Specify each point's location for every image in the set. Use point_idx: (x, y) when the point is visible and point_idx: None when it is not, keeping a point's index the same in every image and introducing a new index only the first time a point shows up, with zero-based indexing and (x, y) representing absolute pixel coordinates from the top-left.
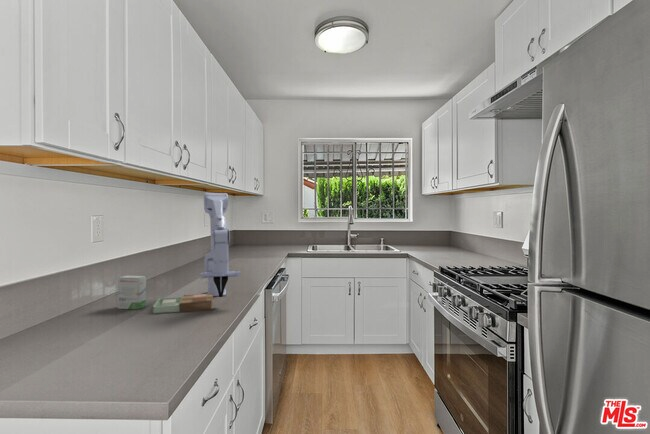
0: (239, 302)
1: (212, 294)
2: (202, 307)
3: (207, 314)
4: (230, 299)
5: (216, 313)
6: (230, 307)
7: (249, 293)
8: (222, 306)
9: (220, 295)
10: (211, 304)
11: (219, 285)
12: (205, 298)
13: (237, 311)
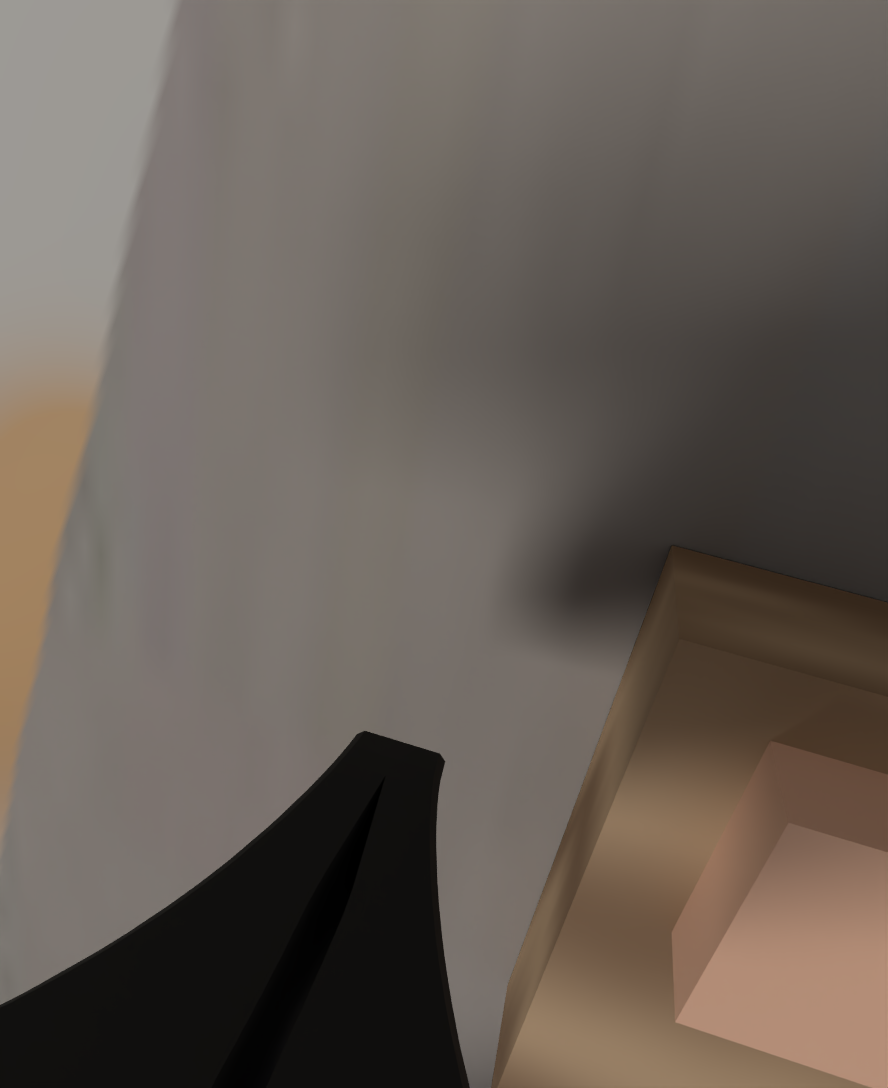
0: (133, 720)
1: (505, 1073)
2: (864, 626)
3: (876, 200)
4: None
5: (648, 191)
6: (293, 516)
7: None
8: (421, 648)
9: (402, 765)
10: (632, 691)
11: (333, 1011)
12: (806, 794)
13: (182, 142)
